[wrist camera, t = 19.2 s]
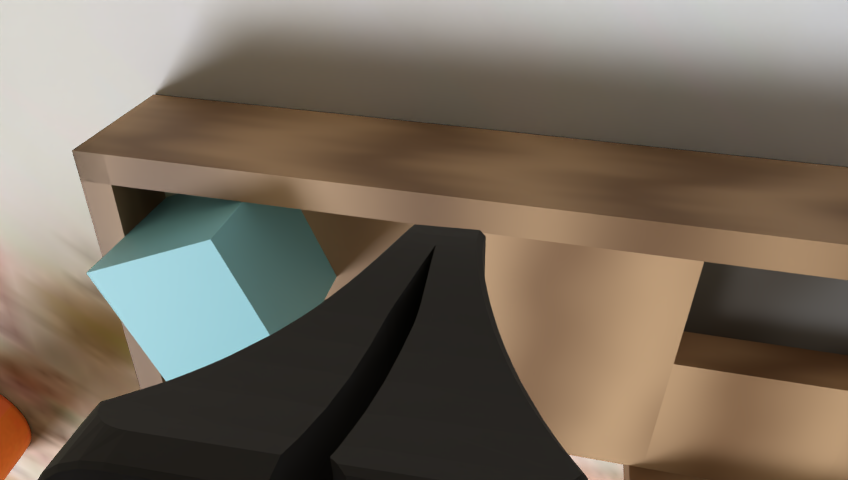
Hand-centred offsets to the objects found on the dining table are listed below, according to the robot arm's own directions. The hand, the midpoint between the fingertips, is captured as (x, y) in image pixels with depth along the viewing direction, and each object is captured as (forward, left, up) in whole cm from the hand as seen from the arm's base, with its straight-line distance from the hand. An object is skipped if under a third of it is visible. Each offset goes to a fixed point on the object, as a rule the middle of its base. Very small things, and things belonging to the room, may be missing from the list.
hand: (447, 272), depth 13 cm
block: (+8, +6, -8) cm, 13 cm away
